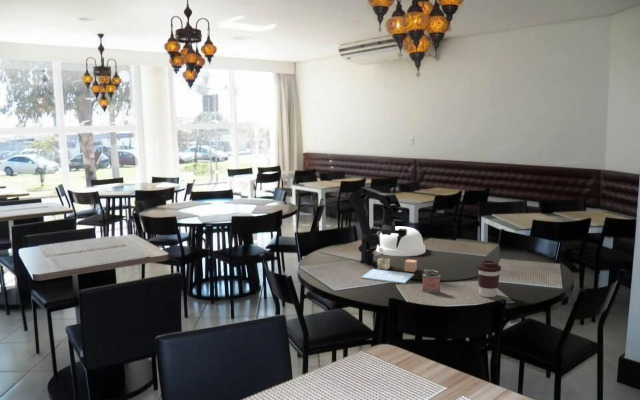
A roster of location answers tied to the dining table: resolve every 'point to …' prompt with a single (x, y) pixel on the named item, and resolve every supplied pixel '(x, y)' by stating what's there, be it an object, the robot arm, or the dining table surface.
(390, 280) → the blueprint board
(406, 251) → the dome cover
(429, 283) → the lighter
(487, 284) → the coffee cup
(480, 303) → the dining table surface
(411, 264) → the peach block
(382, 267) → the birch block
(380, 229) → the robot arm
